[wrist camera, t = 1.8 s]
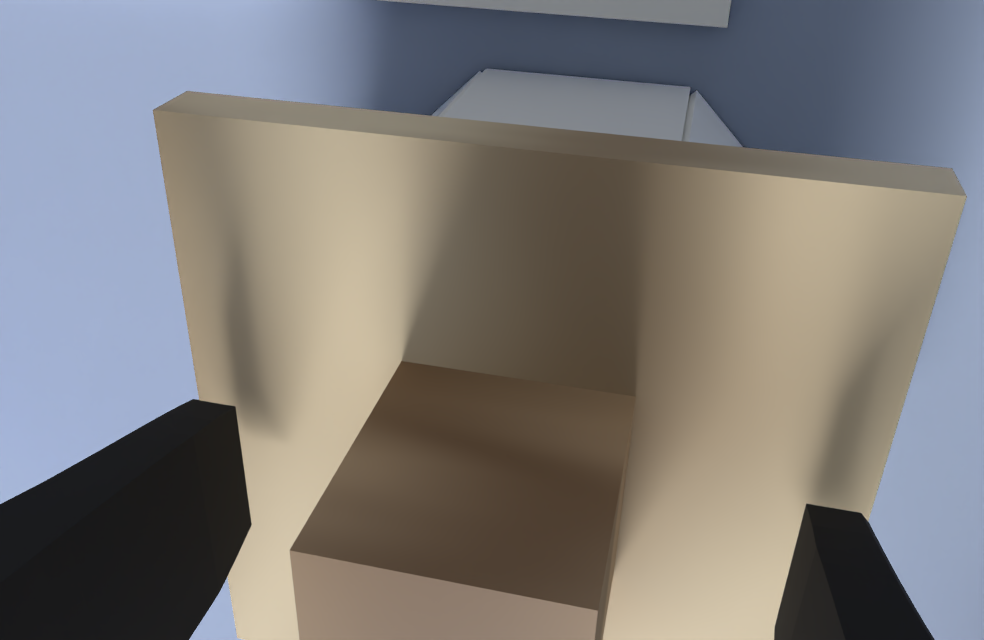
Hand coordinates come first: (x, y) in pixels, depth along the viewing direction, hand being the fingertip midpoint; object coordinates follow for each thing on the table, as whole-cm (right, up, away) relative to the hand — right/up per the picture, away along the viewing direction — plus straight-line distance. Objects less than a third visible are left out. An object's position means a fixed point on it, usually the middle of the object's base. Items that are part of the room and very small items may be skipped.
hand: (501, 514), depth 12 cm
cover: (0, +1, +1) cm, 2 cm away
